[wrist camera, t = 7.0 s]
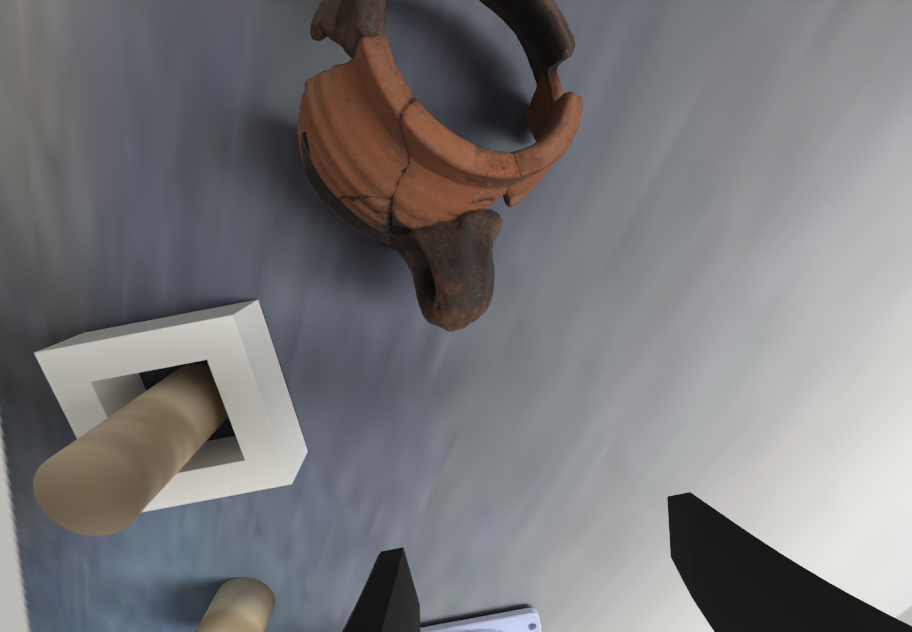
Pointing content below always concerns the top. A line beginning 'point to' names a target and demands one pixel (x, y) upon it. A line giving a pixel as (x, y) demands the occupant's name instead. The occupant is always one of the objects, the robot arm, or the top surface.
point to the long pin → (130, 454)
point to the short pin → (239, 607)
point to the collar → (237, 378)
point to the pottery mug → (427, 153)
